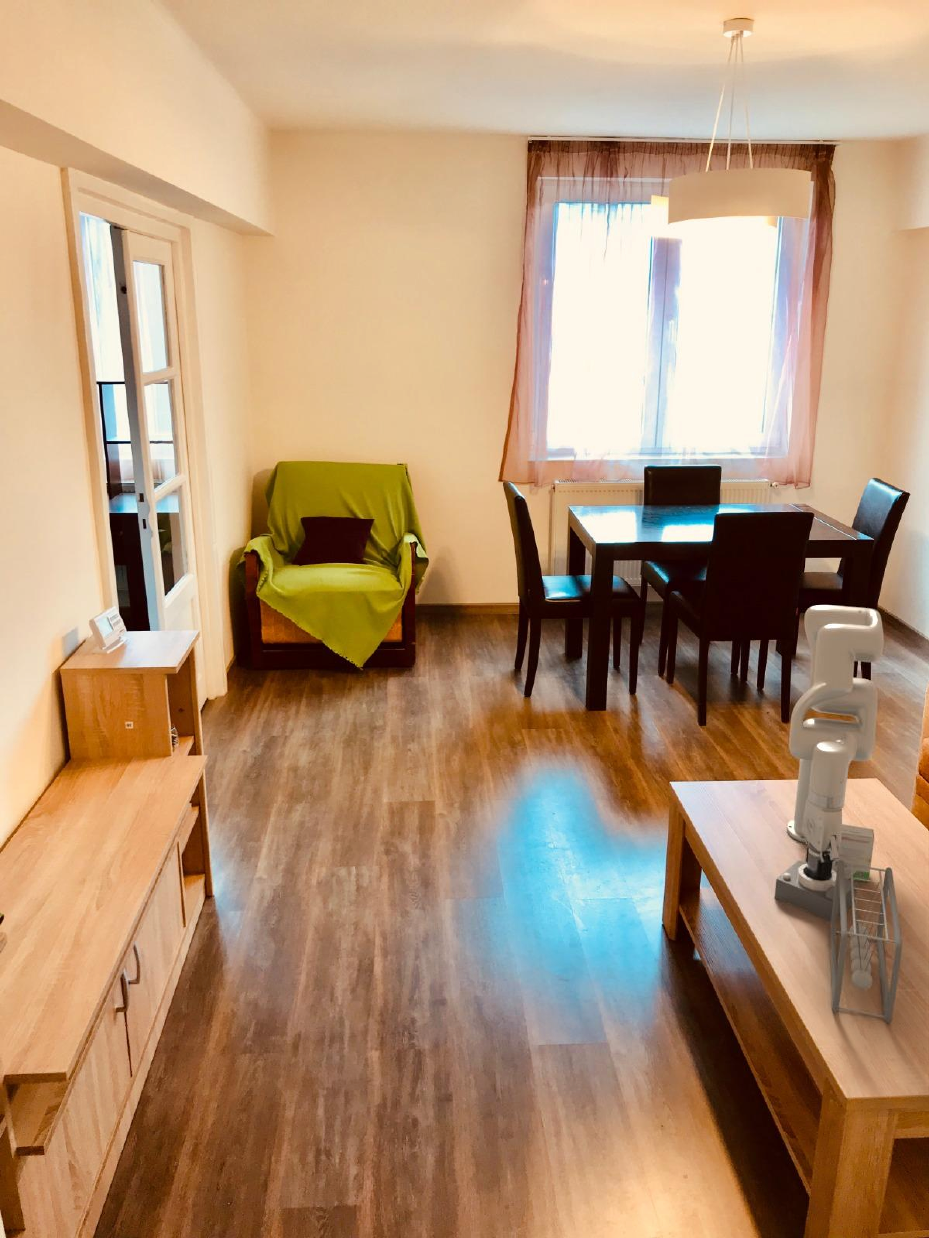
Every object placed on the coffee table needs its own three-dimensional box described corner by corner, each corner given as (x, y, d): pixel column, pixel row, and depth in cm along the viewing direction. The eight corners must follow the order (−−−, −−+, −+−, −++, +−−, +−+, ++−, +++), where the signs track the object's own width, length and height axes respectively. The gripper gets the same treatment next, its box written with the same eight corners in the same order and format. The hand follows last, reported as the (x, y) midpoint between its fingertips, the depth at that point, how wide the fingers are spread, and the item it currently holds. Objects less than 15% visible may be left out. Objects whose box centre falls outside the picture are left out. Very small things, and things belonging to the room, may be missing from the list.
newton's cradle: (829, 926, 212) (838, 855, 207) (881, 936, 209) (891, 863, 203) (831, 1016, 185) (841, 936, 180) (890, 1028, 182) (902, 947, 176)
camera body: (797, 878, 230) (799, 852, 228) (854, 902, 221) (858, 875, 219) (774, 897, 223) (777, 870, 221) (833, 922, 213) (836, 895, 211)
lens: (802, 871, 222) (805, 840, 220) (823, 870, 223) (826, 839, 220) (811, 883, 217) (814, 852, 215) (832, 882, 218) (836, 851, 215)
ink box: (830, 876, 231) (835, 832, 227) (829, 865, 236) (834, 822, 232) (868, 882, 228) (874, 838, 225) (867, 871, 233) (873, 827, 229)
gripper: (794, 780, 222) (786, 850, 227) (827, 816, 206) (818, 891, 211) (825, 778, 222) (817, 848, 228) (861, 814, 206) (851, 889, 212)
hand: (818, 868), depth 219 cm, fingers closed on lens, 4 cm apart
